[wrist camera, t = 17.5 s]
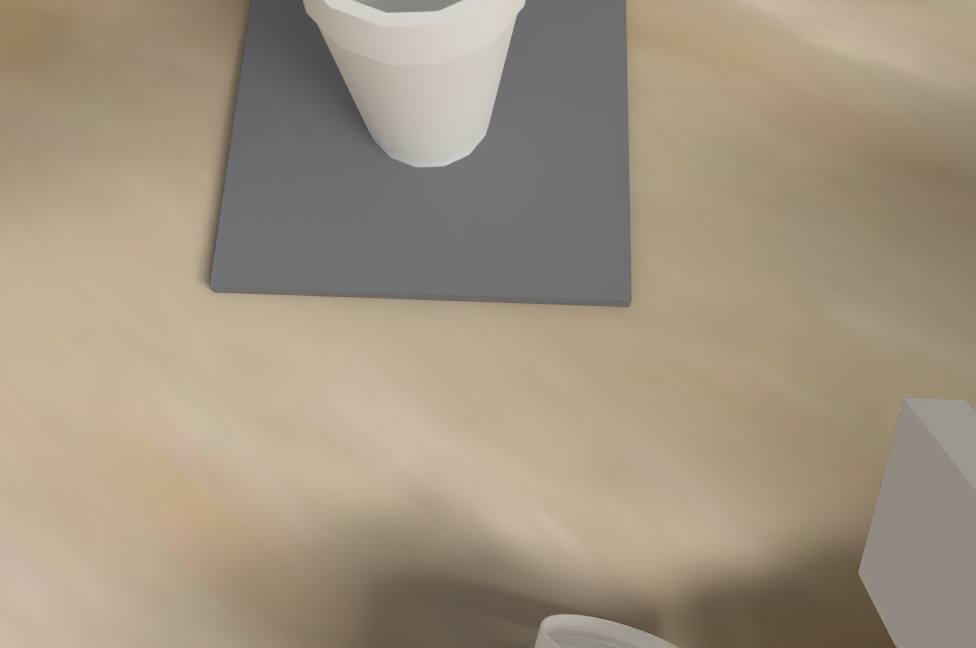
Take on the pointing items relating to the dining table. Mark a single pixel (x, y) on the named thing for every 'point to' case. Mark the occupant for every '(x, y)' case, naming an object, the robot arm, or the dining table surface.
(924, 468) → the robot arm
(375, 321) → the dining table surface
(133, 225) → the dining table surface
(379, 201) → the rubber mat
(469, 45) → the foam cup
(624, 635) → the spread jar
